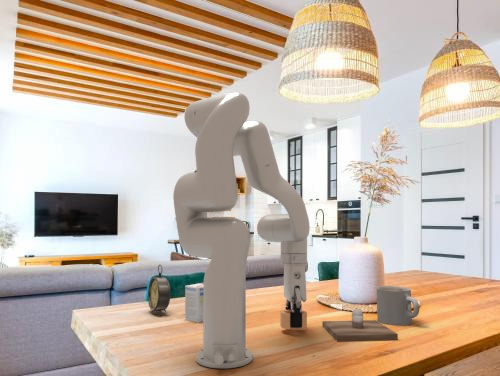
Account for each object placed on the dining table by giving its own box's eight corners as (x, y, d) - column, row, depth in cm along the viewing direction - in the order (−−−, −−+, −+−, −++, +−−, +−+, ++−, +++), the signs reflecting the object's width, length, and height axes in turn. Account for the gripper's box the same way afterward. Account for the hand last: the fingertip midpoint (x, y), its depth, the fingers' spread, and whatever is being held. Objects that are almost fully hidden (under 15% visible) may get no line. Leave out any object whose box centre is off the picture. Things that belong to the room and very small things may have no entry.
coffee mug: (370, 319, 129) (370, 287, 130) (396, 316, 132) (395, 285, 133) (400, 329, 116) (399, 293, 117) (427, 326, 120) (426, 291, 121)
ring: (308, 329, 111) (308, 314, 112) (283, 329, 111) (283, 314, 111) (303, 323, 118) (303, 309, 119) (279, 323, 118) (279, 309, 118)
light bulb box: (208, 313, 137) (208, 281, 138) (223, 316, 133) (223, 283, 134) (183, 319, 129) (184, 285, 130) (198, 323, 125) (199, 287, 126)
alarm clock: (146, 311, 141) (147, 263, 142) (161, 309, 144) (162, 262, 145) (157, 317, 132) (157, 266, 133) (173, 315, 134) (173, 265, 136)
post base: (397, 339, 106) (397, 314, 107) (337, 341, 105) (336, 315, 106) (375, 325, 121) (375, 303, 122) (322, 326, 120) (322, 303, 121)
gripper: (313, 262, 108) (313, 331, 106) (300, 257, 125) (300, 317, 124) (285, 261, 108) (285, 331, 106) (276, 257, 125) (275, 317, 123)
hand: (293, 323), depth 115 cm, fingers closed on ring, 7 cm apart
